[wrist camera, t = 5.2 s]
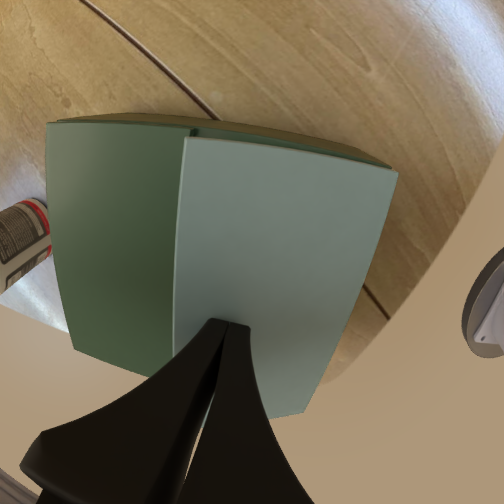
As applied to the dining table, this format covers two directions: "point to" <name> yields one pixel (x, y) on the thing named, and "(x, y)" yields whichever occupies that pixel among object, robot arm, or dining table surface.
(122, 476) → the robot arm
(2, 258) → the pill bottle
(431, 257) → the dining table surface
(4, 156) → the dining table surface
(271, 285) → the hatch
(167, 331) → the seed box
